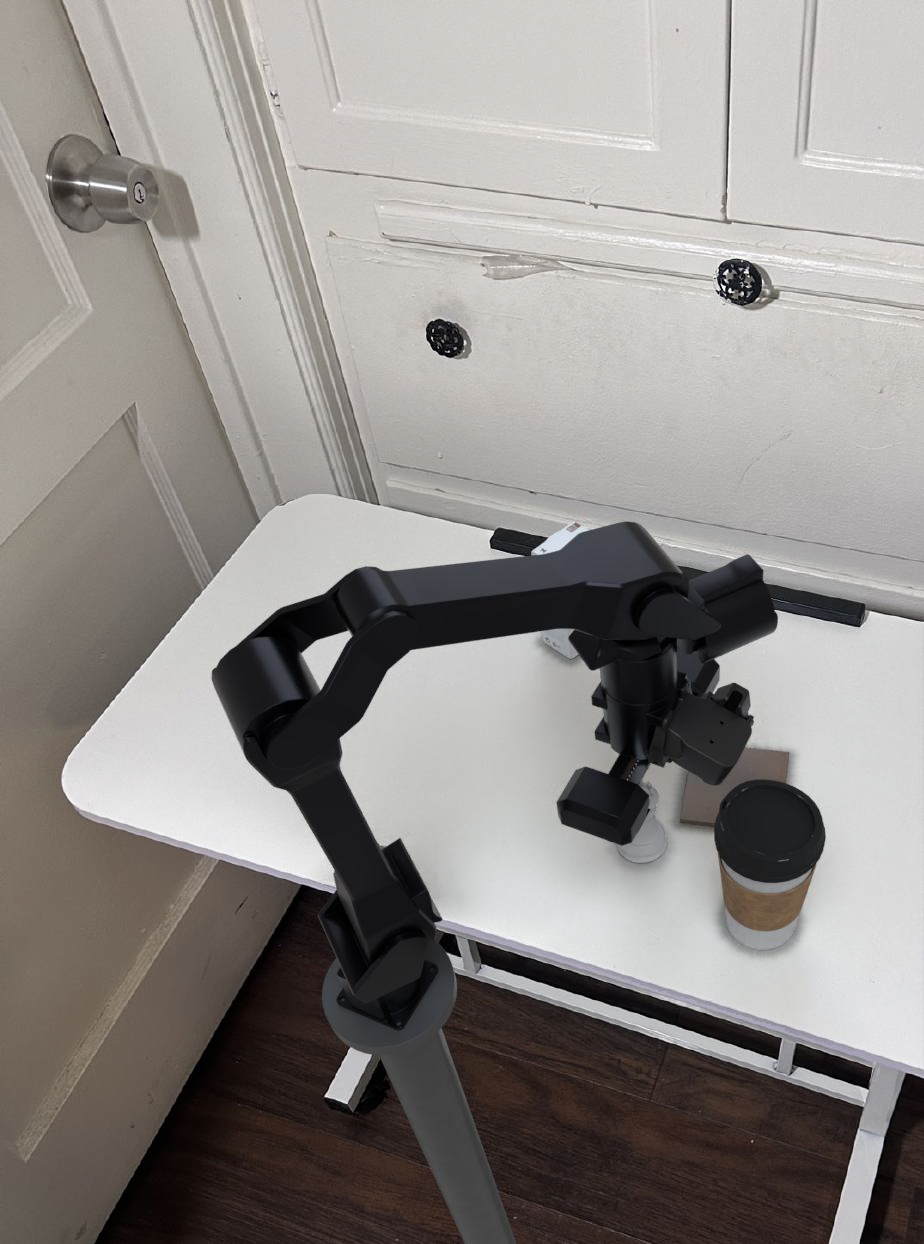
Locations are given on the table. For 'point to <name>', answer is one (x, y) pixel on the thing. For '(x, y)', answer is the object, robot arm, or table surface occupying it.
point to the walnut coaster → (730, 784)
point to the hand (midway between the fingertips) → (644, 800)
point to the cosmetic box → (553, 543)
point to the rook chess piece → (647, 834)
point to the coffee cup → (766, 859)
